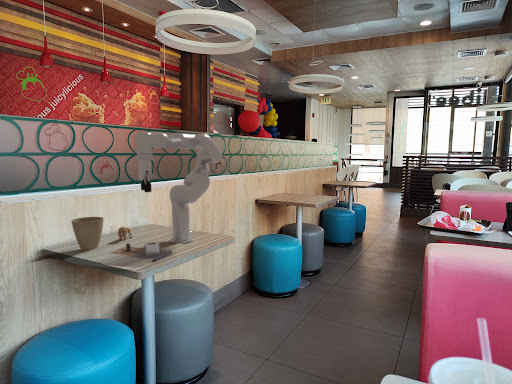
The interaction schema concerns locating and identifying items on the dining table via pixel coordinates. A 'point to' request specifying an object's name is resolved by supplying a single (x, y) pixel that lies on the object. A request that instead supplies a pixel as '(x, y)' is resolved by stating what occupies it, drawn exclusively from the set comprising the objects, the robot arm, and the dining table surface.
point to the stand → (128, 250)
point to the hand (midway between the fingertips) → (146, 191)
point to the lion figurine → (124, 232)
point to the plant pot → (88, 231)
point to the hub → (156, 257)
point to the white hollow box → (151, 248)
